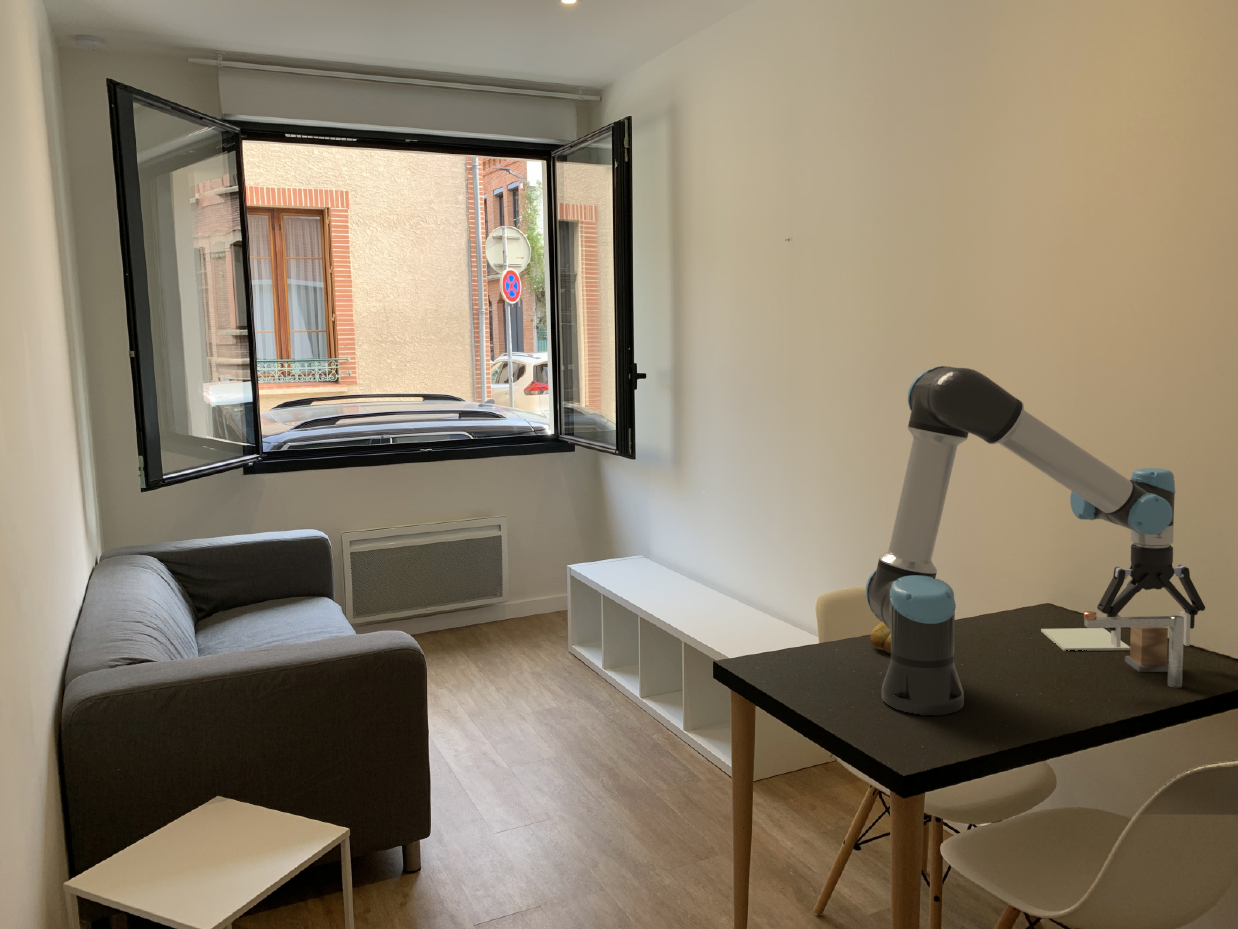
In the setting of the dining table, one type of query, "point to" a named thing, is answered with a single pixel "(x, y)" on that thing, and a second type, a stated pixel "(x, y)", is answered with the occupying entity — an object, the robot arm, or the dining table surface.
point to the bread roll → (881, 637)
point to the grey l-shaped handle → (1155, 621)
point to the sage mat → (1083, 639)
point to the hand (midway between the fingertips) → (1149, 644)
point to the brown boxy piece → (1148, 649)
